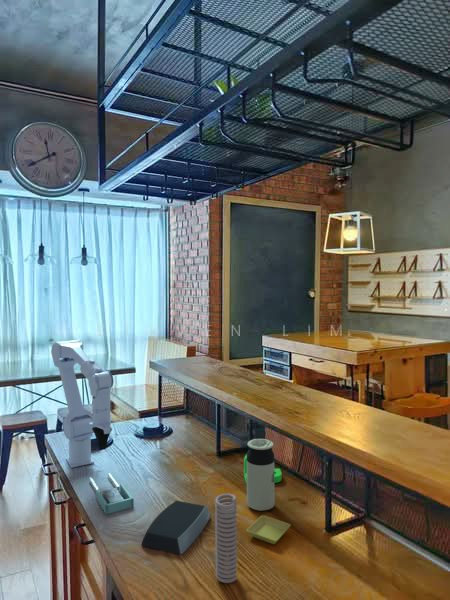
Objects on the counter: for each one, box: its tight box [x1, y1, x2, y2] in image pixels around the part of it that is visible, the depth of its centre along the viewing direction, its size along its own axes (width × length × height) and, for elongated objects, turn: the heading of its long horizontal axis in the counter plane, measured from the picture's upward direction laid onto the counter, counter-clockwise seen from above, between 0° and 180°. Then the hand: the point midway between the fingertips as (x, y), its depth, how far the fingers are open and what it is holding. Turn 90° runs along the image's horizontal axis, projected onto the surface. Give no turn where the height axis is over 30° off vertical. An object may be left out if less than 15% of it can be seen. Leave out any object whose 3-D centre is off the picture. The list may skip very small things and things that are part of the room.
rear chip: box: [102, 487, 121, 501], centre depth 130 cm, size 4×4×2 cm
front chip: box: [106, 493, 125, 504], centre depth 126 cm, size 4×4×2 cm
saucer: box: [246, 514, 292, 545], centre depth 111 cm, size 9×9×2 cm
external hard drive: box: [140, 500, 211, 555], centre depth 113 cm, size 12×18×4 cm
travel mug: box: [246, 438, 275, 512], centre depth 125 cm, size 8×8×18 cm
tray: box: [95, 483, 135, 515], centre depth 127 cm, size 11×8×2 cm
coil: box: [214, 493, 238, 584], centre depth 94 cm, size 5×5×18 cm
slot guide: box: [88, 472, 120, 493], centre depth 137 cm, size 11×7×2 cm, turn 30°
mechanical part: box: [243, 453, 283, 485], centre depth 142 cm, size 12×6×8 cm, turn 94°
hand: (102, 448), depth 144 cm, fingers closed
